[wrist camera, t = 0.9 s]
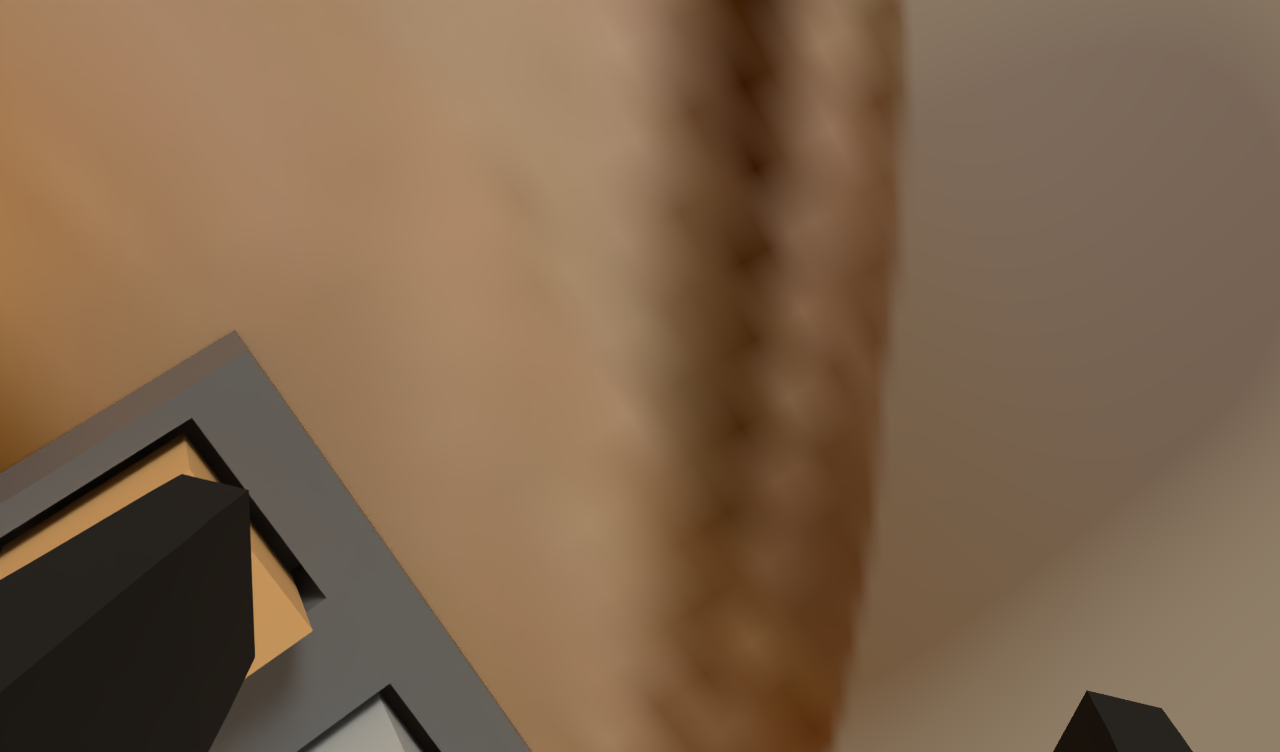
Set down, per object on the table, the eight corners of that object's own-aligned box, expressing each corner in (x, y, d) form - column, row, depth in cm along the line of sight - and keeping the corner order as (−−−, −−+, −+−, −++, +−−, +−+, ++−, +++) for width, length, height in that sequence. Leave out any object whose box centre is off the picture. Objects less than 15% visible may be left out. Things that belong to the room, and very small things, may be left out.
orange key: (127, 690, 17) (124, 763, 15) (3, 546, 16) (-19, 602, 14) (292, 576, 18) (313, 630, 16) (184, 432, 17) (190, 469, 15)
